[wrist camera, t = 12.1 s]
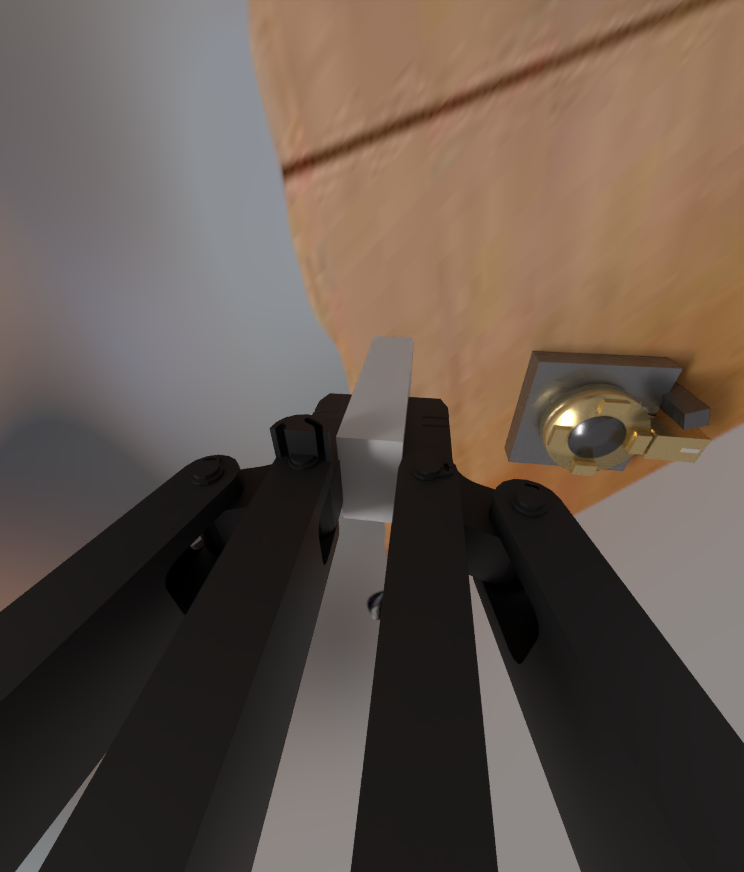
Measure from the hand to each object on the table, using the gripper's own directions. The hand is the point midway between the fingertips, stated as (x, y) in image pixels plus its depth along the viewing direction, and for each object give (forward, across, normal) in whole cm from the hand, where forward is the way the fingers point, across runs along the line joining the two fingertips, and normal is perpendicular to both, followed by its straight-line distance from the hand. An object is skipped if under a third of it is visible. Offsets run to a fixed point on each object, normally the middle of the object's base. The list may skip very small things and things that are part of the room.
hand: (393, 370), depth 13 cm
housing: (+26, +22, -16) cm, 38 cm away
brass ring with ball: (+23, +23, -16) cm, 37 cm away
